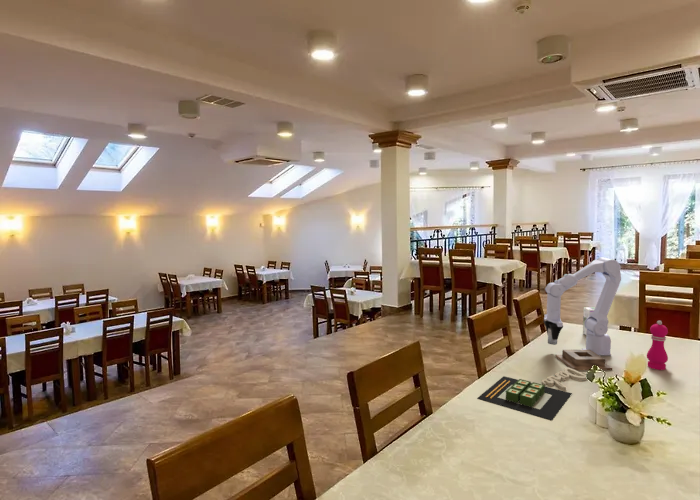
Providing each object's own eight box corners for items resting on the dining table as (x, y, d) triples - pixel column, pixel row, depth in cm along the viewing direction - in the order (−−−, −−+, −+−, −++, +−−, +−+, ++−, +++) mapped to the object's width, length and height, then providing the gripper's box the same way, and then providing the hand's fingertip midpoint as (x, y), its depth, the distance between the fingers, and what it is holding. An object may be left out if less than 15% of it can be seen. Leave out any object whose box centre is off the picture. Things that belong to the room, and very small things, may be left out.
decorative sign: (567, 366, 179) (592, 374, 171) (566, 370, 179) (591, 378, 171) (536, 380, 166) (562, 389, 158) (536, 384, 166) (562, 393, 158)
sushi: (503, 378, 173) (503, 369, 172) (571, 395, 157) (572, 385, 156) (477, 400, 154) (477, 390, 153) (551, 422, 138) (552, 411, 137)
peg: (554, 341, 201) (555, 327, 201) (558, 344, 197) (559, 329, 197) (546, 341, 201) (546, 327, 201) (549, 344, 197) (550, 329, 197)
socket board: (591, 356, 194) (591, 347, 193) (612, 370, 178) (612, 360, 177) (555, 356, 194) (555, 348, 193) (573, 370, 178) (573, 361, 178)
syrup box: (599, 337, 221) (600, 309, 220) (587, 337, 221) (589, 309, 220) (593, 333, 227) (594, 306, 225) (582, 333, 227) (583, 306, 225)
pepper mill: (647, 368, 179) (650, 321, 177) (645, 363, 185) (647, 317, 183) (668, 371, 175) (672, 323, 173) (665, 365, 182) (668, 319, 180)
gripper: (538, 305, 205) (537, 333, 206) (551, 313, 191) (550, 342, 192) (553, 305, 205) (552, 333, 206) (567, 312, 190) (566, 342, 192)
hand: (552, 337), depth 199 cm, fingers closed on peg, 4 cm apart
